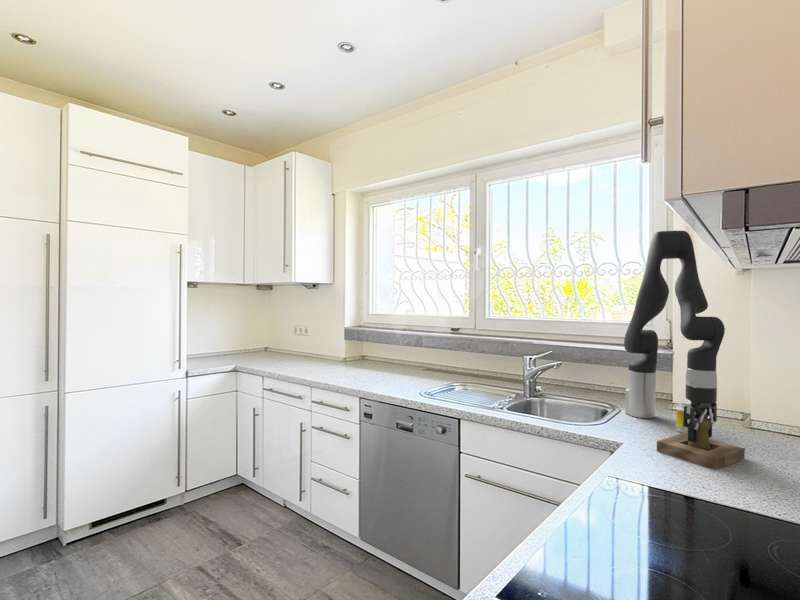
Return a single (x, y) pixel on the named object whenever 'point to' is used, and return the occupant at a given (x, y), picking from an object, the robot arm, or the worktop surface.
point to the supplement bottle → (681, 416)
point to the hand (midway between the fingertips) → (699, 439)
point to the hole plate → (701, 451)
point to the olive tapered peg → (702, 436)
